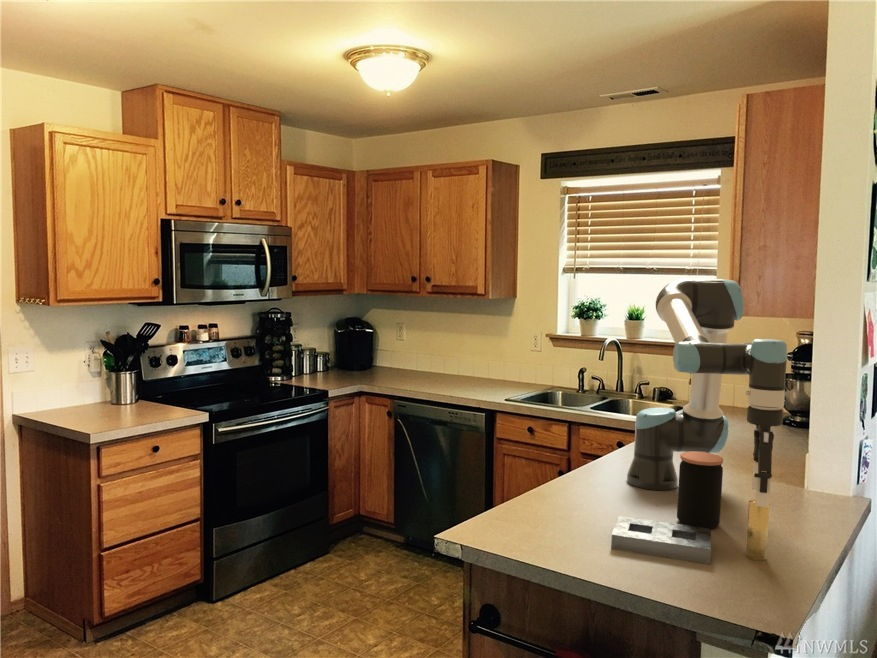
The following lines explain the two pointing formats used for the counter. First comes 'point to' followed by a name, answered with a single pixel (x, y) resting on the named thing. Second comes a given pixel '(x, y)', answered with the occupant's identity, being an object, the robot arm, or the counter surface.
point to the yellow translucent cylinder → (757, 531)
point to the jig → (662, 539)
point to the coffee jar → (700, 489)
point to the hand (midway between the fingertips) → (759, 497)
